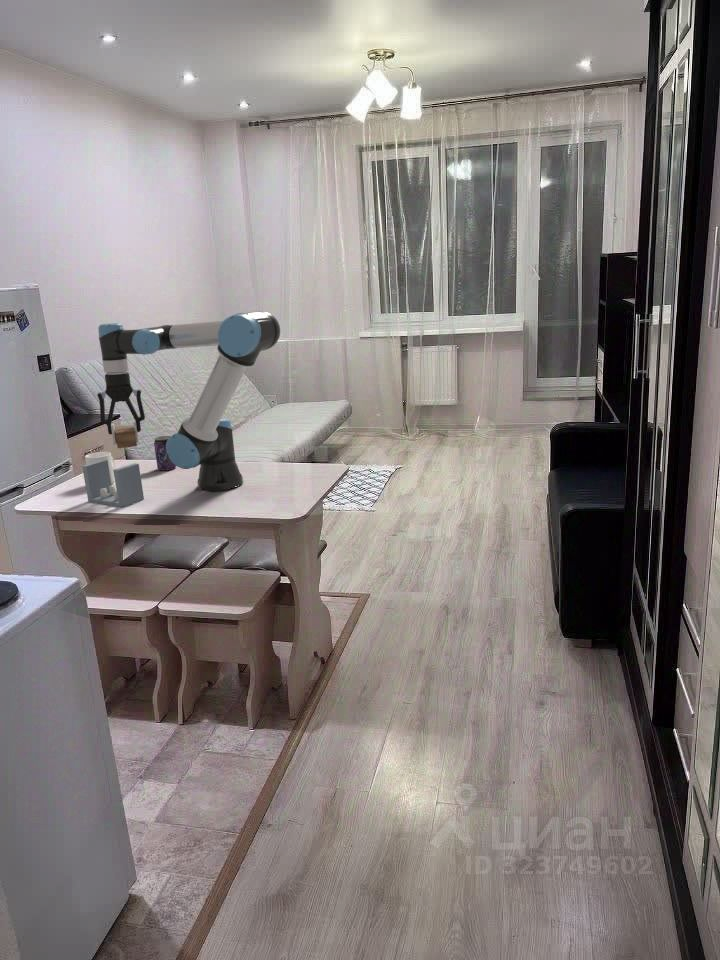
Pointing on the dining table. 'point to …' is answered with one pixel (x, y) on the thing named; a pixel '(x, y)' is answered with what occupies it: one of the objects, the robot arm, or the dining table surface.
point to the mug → (102, 456)
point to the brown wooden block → (125, 436)
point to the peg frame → (107, 493)
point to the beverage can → (162, 454)
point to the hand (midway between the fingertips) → (126, 442)
